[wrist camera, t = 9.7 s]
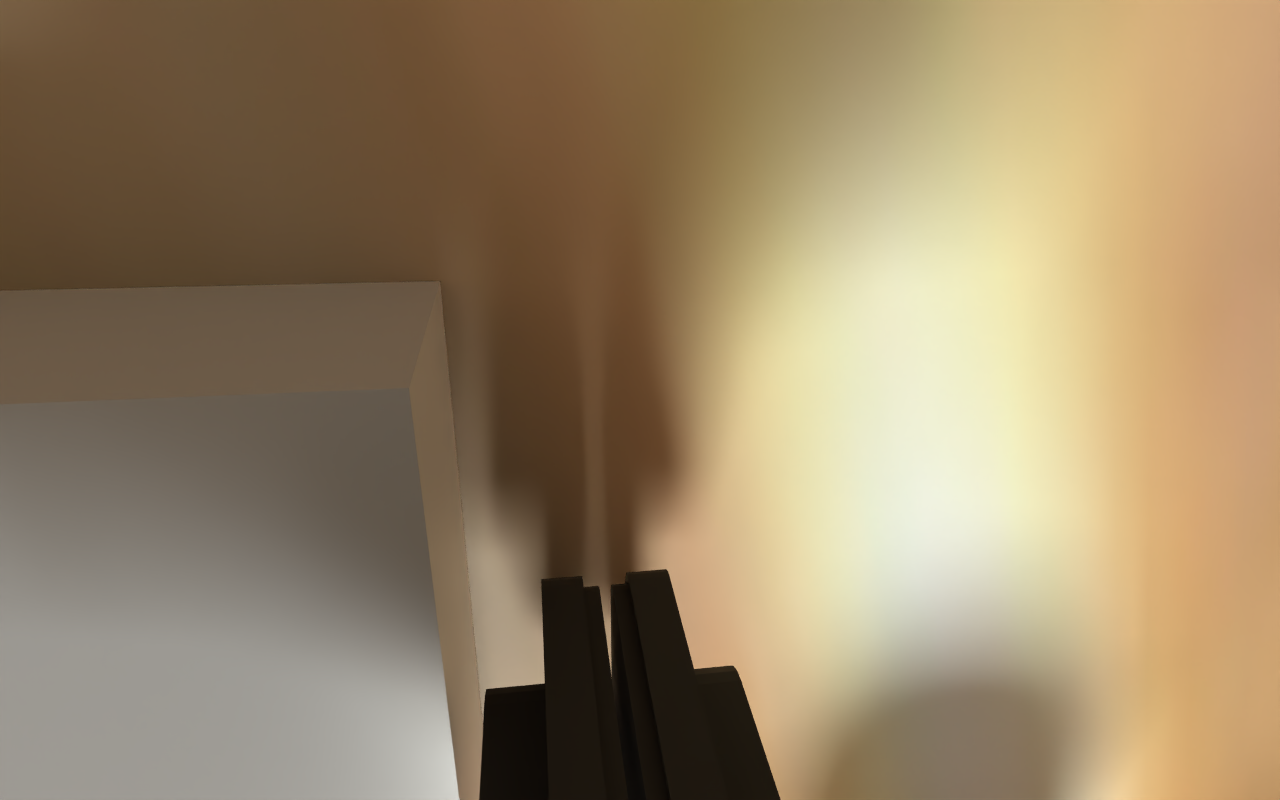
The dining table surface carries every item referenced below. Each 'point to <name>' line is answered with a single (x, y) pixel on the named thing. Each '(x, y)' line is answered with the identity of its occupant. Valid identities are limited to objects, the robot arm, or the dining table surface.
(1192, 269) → the dining table surface
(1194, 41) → the dining table surface
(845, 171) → the dining table surface
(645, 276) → the dining table surface
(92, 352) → the push block
